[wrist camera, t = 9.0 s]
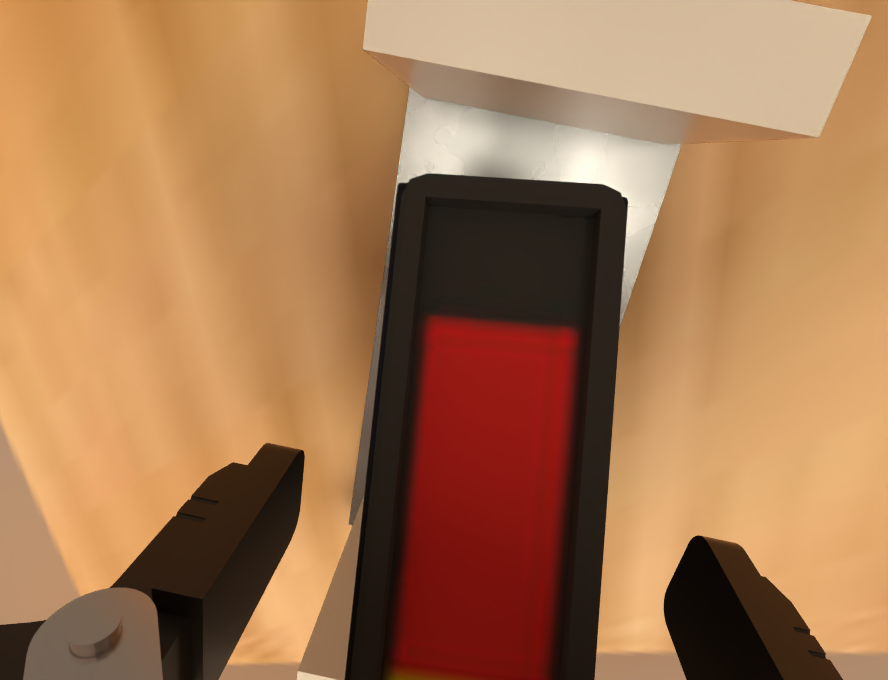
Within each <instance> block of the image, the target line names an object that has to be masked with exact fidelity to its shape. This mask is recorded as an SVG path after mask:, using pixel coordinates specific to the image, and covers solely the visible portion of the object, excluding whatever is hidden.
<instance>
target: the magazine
mask: <svg viewBox="0 0 888 680" xmlns="http://www.w3.org/2000/svg"><path fill="white" fill-rule="evenodd" d="M627 212H628V199H627V198H626V197H622V195H621V192H619V191H617V190H614V189H612V188H610V187H608V186H606V185H604V184H592V183H577V182H561V181H545V180H529V179H513V178H497V177H481V176H466V175H450V174H434V173H427V174H424V175H421V176H418V177H415V178H412V179H410V180H409V182H408V183H404V182H401V183H399V184H398V186H397V193H396V203H395V212H394V221H393V231H392V240H391V249H390V259H389V268H388V277H387V287H386V296H385V305H384V315H383V324H382V333H381V343H380V352H379V361H378V371H377V380H376V390H375V399H374V408H373V418H372V427H371V436H370V446H369V455H368V464H367V474H366V483H365V492H364V502H363V511H362V520H361V530H360V539H359V548H358V558H357V567H356V577H355V586H354V595H353V605H352V614H351V623H350V633H349V642H348V651H347V661H346V670H345V679H344V680H594V677H595V662H596V649H597V635H598V621H599V607H600V593H601V578H602V564H603V550H604V536H605V522H606V508H607V494H608V480H609V466H610V452H611V438H612V424H613V409H614V395H615V381H616V367H617V353H618V339H619V325H620V311H621V297H622V283H623V269H624V255H625V240H626V226H627Z"/></svg>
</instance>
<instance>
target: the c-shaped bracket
mask: <svg viewBox="0 0 888 680" xmlns="http://www.w3.org/2000/svg"><path fill="white" fill-rule="evenodd" d="M871 17H872V16H871V15H865V14H860V13H855V12H849V11H844V10H839V9H833V8H828V7H823V6H817V5H812V4H807V3H801V2H796V1H791V0H368V4H367V14H366V23H365V33H364V42H363V50H364V51H366V52H367V53H368V54H369V55H371V56H372V57H373V58H374V59H376V60H377V61H378V62H379V63H381V64H382V65H383V66H384V67H386V68H387V69H388V70H389V71H391V72H392V73H393V74H394V75H396V76H397V77H398V78H400V79H401V80H402V81H403V82H405V83H406V84H407V85H408V86H410V87H411V88H412V89H413V90H415V91H416V92H417V93H418V94H420V95H421V96H422V97H423V98H428V99H433V100H438V101H444V102H449V103H454V104H459V105H464V106H469V107H474V108H479V109H485V110H490V111H495V112H500V113H505V114H510V115H515V116H520V117H526V118H531V119H536V120H541V121H546V122H551V123H556V124H561V125H567V126H572V127H577V128H582V129H587V130H592V131H597V132H602V133H608V134H613V135H618V136H623V137H628V138H633V139H638V140H643V141H649V142H654V143H659V144H664V145H671V144H692V143H714V142H735V141H757V140H778V139H799V138H819V137H820V134H821V132H822V130H823V128H824V125H825V123H826V121H827V118H828V116H829V114H830V112H831V109H832V107H833V105H834V102H835V100H836V98H837V95H838V93H839V91H840V89H841V86H842V84H843V82H844V79H845V77H846V75H847V72H848V70H849V68H850V66H851V63H852V61H853V59H854V56H855V54H856V52H857V49H858V47H859V45H860V43H861V40H862V38H863V36H864V33H865V31H866V29H867V26H868V24H869V22H870V20H871ZM363 502H364V497H363V499H362V502H361V505H360V507H359V510H358V513H357V515H356V518H355V521H354V523H353V526H352V529H351V531H350V534H349V537H348V539H347V542H346V545H345V547H344V550H343V553H342V555H341V558H340V561H339V563H338V566H337V568H336V571H335V574H334V576H333V579H332V582H331V584H330V587H329V590H328V592H327V595H326V598H325V600H324V603H323V606H322V608H321V611H320V614H319V616H318V619H317V622H316V624H315V627H314V630H313V632H312V635H311V638H310V640H309V643H308V646H307V648H306V651H305V653H304V656H303V659H302V661H301V664H300V667H299V669H298V675H297V680H344V679H345V670H346V661H347V651H348V642H349V633H350V623H351V614H352V605H353V595H354V586H355V577H356V567H357V558H358V548H359V539H360V530H361V520H362V511H363Z"/></svg>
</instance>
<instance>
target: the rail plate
mask: <svg viewBox="0 0 888 680" xmlns="http://www.w3.org/2000/svg"><path fill="white" fill-rule="evenodd" d="M681 145H682V144H671V145H664V144H659V143H654V142H649V141H643V140H638V139H633V138H628V137H623V136H618V135H613V134H608V133H602V132H597V131H592V130H587V129H582V128H577V127H572V126H567V125H561V124H556V123H551V122H546V121H541V120H536V119H531V118H526V117H520V116H515V115H510V114H505V113H500V112H495V111H490V110H485V109H479V108H474V107H469V106H464V105H459V104H454V103H449V102H444V101H438V100H433V99H428V98H423V97H422V96H421V95H420V94H418V93H417V92H416V91H415V90H413V89H412V88H411V87H410V88H409V95H408V103H407V110H406V117H405V124H404V131H403V139H402V146H401V153H400V160H399V167H398V174H397V182H396V189H395V196H394V203H393V210H392V218H391V225H390V232H389V239H388V246H387V253H386V261H385V268H384V275H383V282H382V289H381V297H380V304H379V311H378V318H377V325H376V332H375V340H374V347H373V354H372V361H371V368H370V376H369V383H368V390H367V397H366V404H365V411H364V419H363V426H362V433H361V440H360V447H359V455H358V462H357V469H356V476H355V483H354V490H353V498H352V505H351V512H350V519H349V524H350V525H353V523H354V521H355V518H356V515H357V513H358V510H359V507H360V505H361V502H362V499H363V497H364V492H365V483H366V474H367V464H368V455H369V446H370V436H371V427H372V418H373V408H374V399H375V390H376V380H377V371H378V361H379V352H380V343H381V333H382V324H383V315H384V305H385V296H386V287H387V277H388V268H389V259H390V249H391V240H392V231H393V221H394V212H395V203H396V193H397V186H398V184H399V183H401V182H404V183H408V182H409V180H410V179H412V178H415V177H418V176H421V175H424V174H427V173H434V174H450V175H466V176H481V177H497V178H513V179H529V180H545V181H561V182H577V183H592V184H604V185H606V186H608V187H610V188H612V189H614V190H617V191H619V192H621V195H622V197H626V198H627V199H628V212H627V226H626V240H625V255H624V269H623V283H622V297H621V311H620V325H621V322H622V319H623V316H624V313H625V310H626V307H627V304H628V302H629V299H630V296H631V293H632V290H633V287H634V284H635V281H636V278H637V275H638V272H639V269H640V266H641V263H642V260H643V257H644V254H645V251H646V248H647V246H648V243H649V240H650V237H651V234H652V231H653V228H654V225H655V222H656V219H657V216H658V213H659V210H660V207H661V204H662V201H663V198H664V195H665V192H666V189H667V187H668V184H669V181H670V178H671V175H672V172H673V169H674V166H675V163H676V160H677V157H678V154H679V151H680V148H681ZM620 325H619V328H620Z"/></svg>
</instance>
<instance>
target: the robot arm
mask: <svg viewBox="0 0 888 680" xmlns="http://www.w3.org/2000/svg"><path fill="white" fill-rule="evenodd" d="M304 458H305V457H304V451H303V450H299V449H294V448H289V447H285V446H280V445H275V444H271V443H266V444H265V445H263V447H262V448H261V449H260V450H259V452H258V453H257V454H256V455H255V457H254V458H253V459H252V460H251V462H250V463H249V464H248V465H243V464H238V463H234V462H233V463H231V464H229V465H228V466H226V467H224V468H222V469H221V470H219V471H217V472H215V473H214V474H212V475H210V476H209V477H208V478H207V479H206V480H205V481H204V482H203V483H202V484H201V486H200V487H199V488H198V489H197V490H196V491H195V492H194V494H193V495H192V497H191V499H190V500H187V502H186V503H185V504H184V505H183V506H182V507H181V508H180V509H179V511H178V512H177V515H176V517H175V516H173V517H172V519H171V520H170V521H169V522H168V523H167V524H166V525H165V527H164V528H163V529H162V530H161V531H160V532H159V533H158V535H157V536H156V537H155V538H154V539H153V540H152V541H151V542H150V544H149V545H148V546H147V547H146V548H145V549H144V550H143V552H142V553H141V554H140V555H139V556H138V557H137V558H136V560H135V561H134V562H133V563H132V564H131V565H130V566H129V568H128V569H127V570H126V571H125V572H124V573H123V574H122V575H121V577H120V578H119V579H118V580H117V581H116V582H115V583H114V584H113V585H112V586H111V587H110V588H107V589H103V590H98V591H95V592H92V593H89V594H86V595H83V596H81V597H79V598H77V599H75V600H73V601H71V602H70V603H68V604H66V605H65V606H63V607H62V608H60V609H59V610H57V611H56V612H55V613H54V614H53V615H52V616H50V617H49V618H48V619H47V620H44V621H37V622H31V623H18V624H7V625H0V680H218V679H219V677H220V675H221V673H222V672H223V670H224V668H225V666H226V664H227V662H228V660H229V658H230V656H231V654H232V652H233V651H234V649H235V647H236V645H237V643H238V641H239V639H240V637H241V635H242V633H243V631H244V629H245V628H246V626H247V624H248V622H249V620H250V618H251V616H252V614H253V612H254V610H255V608H256V606H257V605H258V603H259V601H260V599H261V597H262V595H263V593H264V591H265V589H266V587H267V585H268V583H269V582H270V580H271V578H272V576H273V574H274V572H275V570H276V568H277V566H278V564H279V562H280V560H281V559H282V557H283V555H284V553H285V551H286V549H287V547H288V545H289V543H290V541H291V539H292V537H293V534H294V531H295V528H296V525H297V522H298V517H299V512H300V504H301V493H302V482H303V470H304ZM664 616H665V621H666V625H667V628H668V630H669V633H670V636H671V639H672V641H673V644H674V647H675V649H676V652H677V655H678V658H679V660H680V663H681V665H682V668H683V671H684V674H685V676H686V679H687V680H843V679H842V677H841V676H840V674H839V673H838V671H837V670H836V669H835V667H834V665H833V664H832V662H831V661H830V660H828V659H826V657H825V654H826V653H825V652H824V650H823V649H822V647H821V646H820V644H819V643H818V641H817V640H816V638H815V637H814V636H812V635H810V629H809V628H808V626H807V625H806V623H805V622H804V620H803V619H802V617H801V616H800V614H799V613H798V611H797V610H796V608H795V607H794V605H793V604H792V602H791V601H790V600H789V599H788V598H786V597H785V596H784V595H783V594H782V593H781V592H780V591H779V590H778V589H777V588H776V587H775V586H774V585H773V584H772V583H771V582H770V581H769V580H768V579H767V578H766V577H762V576H760V574H759V572H758V571H757V569H756V568H755V566H754V564H753V563H752V561H751V560H750V558H749V557H748V555H747V553H746V552H745V550H744V549H743V548H742V547H741V546H740V545H738V544H736V543H732V542H727V541H723V540H718V539H713V538H709V537H704V536H695V537H693V538H692V539H691V540H690V542H689V544H688V546H687V548H686V550H685V552H684V554H683V556H682V558H681V560H680V563H679V565H678V567H677V569H676V571H675V573H674V575H673V577H672V579H671V581H670V583H669V585H668V588H667V590H666V593H665V598H664Z"/></svg>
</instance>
